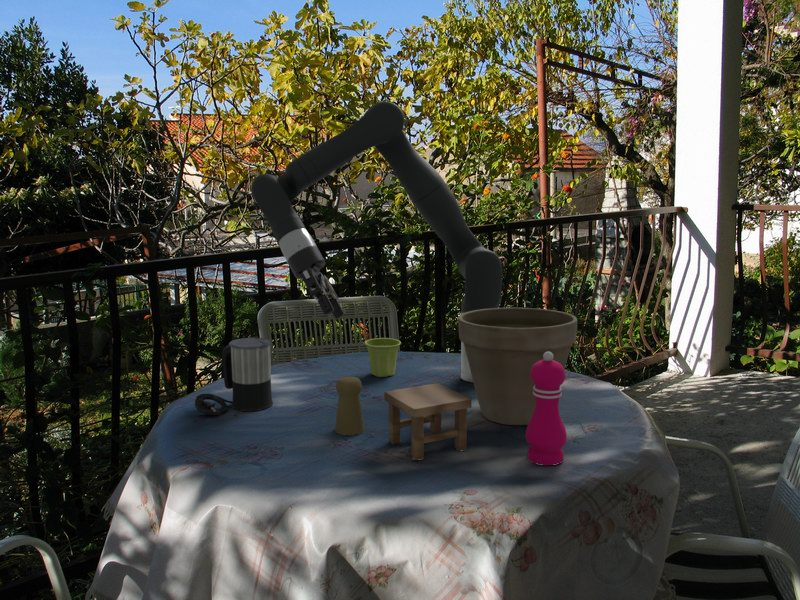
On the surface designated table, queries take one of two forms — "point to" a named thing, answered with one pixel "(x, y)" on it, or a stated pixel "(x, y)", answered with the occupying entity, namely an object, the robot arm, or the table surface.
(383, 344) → the plant pot
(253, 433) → the table surface
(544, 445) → the pepper mill
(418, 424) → the footstool
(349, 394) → the cork
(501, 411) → the plant pot
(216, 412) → the milk frother
